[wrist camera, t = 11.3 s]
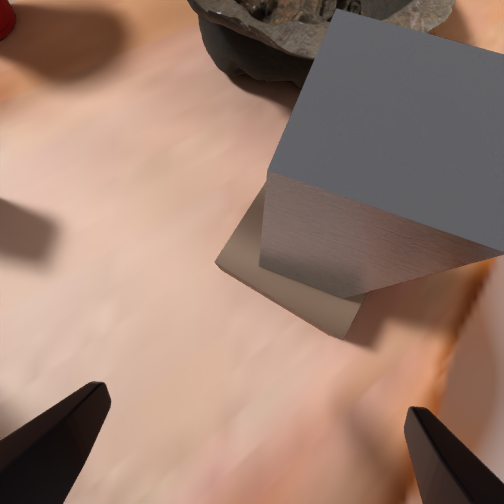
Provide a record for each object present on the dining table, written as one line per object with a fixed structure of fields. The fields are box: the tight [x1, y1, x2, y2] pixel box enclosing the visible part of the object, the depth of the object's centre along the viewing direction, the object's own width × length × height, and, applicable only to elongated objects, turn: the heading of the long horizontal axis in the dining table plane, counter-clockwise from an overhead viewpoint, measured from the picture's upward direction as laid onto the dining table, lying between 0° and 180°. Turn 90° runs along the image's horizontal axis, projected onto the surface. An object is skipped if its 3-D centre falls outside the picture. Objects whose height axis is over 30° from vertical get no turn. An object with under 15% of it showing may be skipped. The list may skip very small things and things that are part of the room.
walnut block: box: [215, 182, 367, 340], centre depth 21 cm, size 10×10×4 cm
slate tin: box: [259, 8, 504, 298], centre depth 13 cm, size 6×6×12 cm
